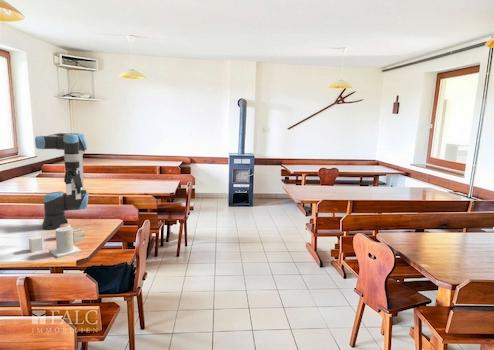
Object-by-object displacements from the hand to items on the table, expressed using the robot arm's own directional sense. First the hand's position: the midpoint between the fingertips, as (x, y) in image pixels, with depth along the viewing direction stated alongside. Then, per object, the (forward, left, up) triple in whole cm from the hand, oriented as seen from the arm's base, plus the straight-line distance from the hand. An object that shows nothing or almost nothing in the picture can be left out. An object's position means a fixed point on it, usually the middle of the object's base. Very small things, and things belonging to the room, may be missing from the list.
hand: (73, 196), depth 188 cm
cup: (+13, -11, -26) cm, 31 cm away
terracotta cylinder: (-11, -2, -27) cm, 29 cm away
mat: (+13, -11, -27) cm, 32 cm away
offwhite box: (-1, -21, -27) cm, 34 cm away
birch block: (-1, +1, -27) cm, 27 cm away
